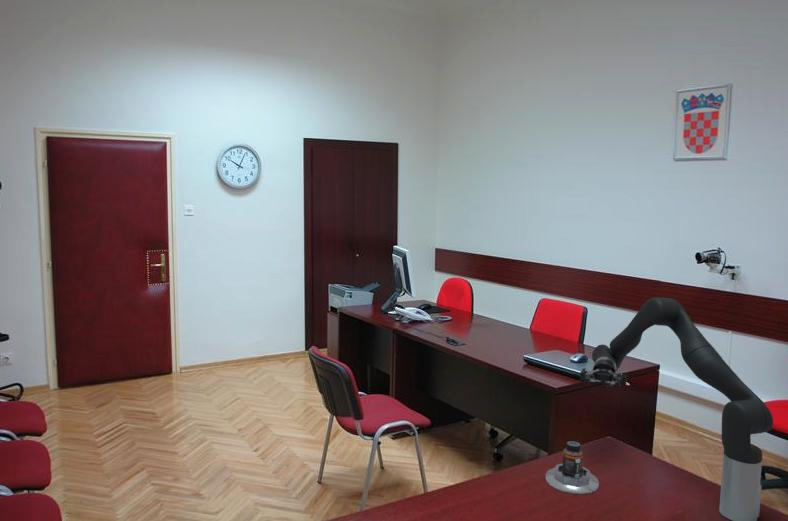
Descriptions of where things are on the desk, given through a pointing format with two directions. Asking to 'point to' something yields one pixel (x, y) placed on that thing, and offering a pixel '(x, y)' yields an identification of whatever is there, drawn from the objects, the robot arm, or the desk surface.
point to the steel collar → (572, 481)
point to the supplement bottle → (572, 460)
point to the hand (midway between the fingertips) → (602, 383)
